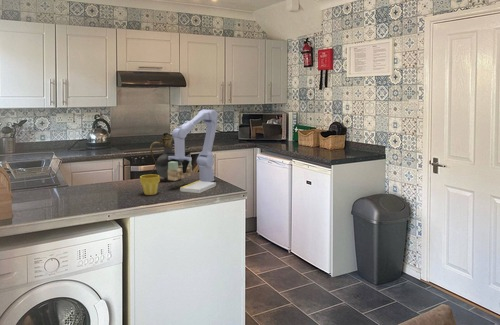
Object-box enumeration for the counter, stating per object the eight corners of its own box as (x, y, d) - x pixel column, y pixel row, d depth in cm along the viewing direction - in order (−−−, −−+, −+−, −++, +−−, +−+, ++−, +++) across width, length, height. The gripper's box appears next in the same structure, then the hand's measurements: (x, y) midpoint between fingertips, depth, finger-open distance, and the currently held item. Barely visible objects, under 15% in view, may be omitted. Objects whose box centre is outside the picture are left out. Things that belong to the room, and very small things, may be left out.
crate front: (172, 168, 242) (171, 161, 241) (178, 168, 240) (177, 161, 240) (168, 169, 238) (168, 162, 237) (174, 169, 237) (174, 162, 236)
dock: (198, 184, 254) (198, 180, 254) (216, 185, 250) (216, 182, 249) (180, 191, 236) (180, 187, 236) (199, 193, 231) (199, 189, 231)
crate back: (185, 164, 254) (185, 157, 254) (191, 164, 253) (191, 158, 252) (181, 165, 251) (181, 158, 250) (187, 166, 249) (187, 159, 249)
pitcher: (184, 180, 264) (182, 132, 259) (153, 183, 255) (151, 133, 250) (178, 177, 274) (177, 131, 269) (149, 180, 265) (147, 132, 260)
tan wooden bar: (184, 174, 256) (184, 164, 255) (192, 174, 254) (191, 165, 253) (167, 179, 239) (167, 169, 238) (175, 180, 237) (175, 170, 236)
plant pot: (139, 192, 233) (138, 174, 232) (158, 190, 237) (158, 173, 236) (141, 196, 224) (141, 178, 222) (161, 195, 228) (161, 177, 226)
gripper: (165, 149, 243) (165, 172, 245) (186, 150, 237) (187, 174, 240) (171, 148, 249) (172, 170, 252) (193, 149, 244) (193, 172, 246)
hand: (180, 172), depth 246 cm, fingers closed on tan wooden bar, 5 cm apart
